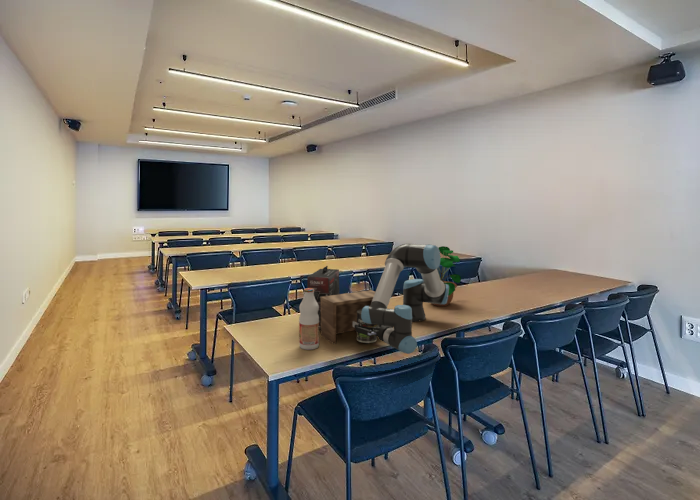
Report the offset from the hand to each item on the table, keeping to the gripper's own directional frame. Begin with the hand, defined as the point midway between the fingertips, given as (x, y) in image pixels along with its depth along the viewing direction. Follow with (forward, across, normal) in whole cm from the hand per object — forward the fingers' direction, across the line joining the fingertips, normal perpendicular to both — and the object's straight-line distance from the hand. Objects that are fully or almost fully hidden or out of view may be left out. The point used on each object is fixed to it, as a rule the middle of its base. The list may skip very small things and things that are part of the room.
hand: (362, 322), depth 192 cm
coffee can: (-4, 0, -8) cm, 9 cm away
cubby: (+9, 0, -9) cm, 13 cm away
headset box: (+32, -5, -9) cm, 34 cm away
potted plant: (+28, +85, -9) cm, 90 cm away
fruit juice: (+5, -27, -9) cm, 29 cm away
